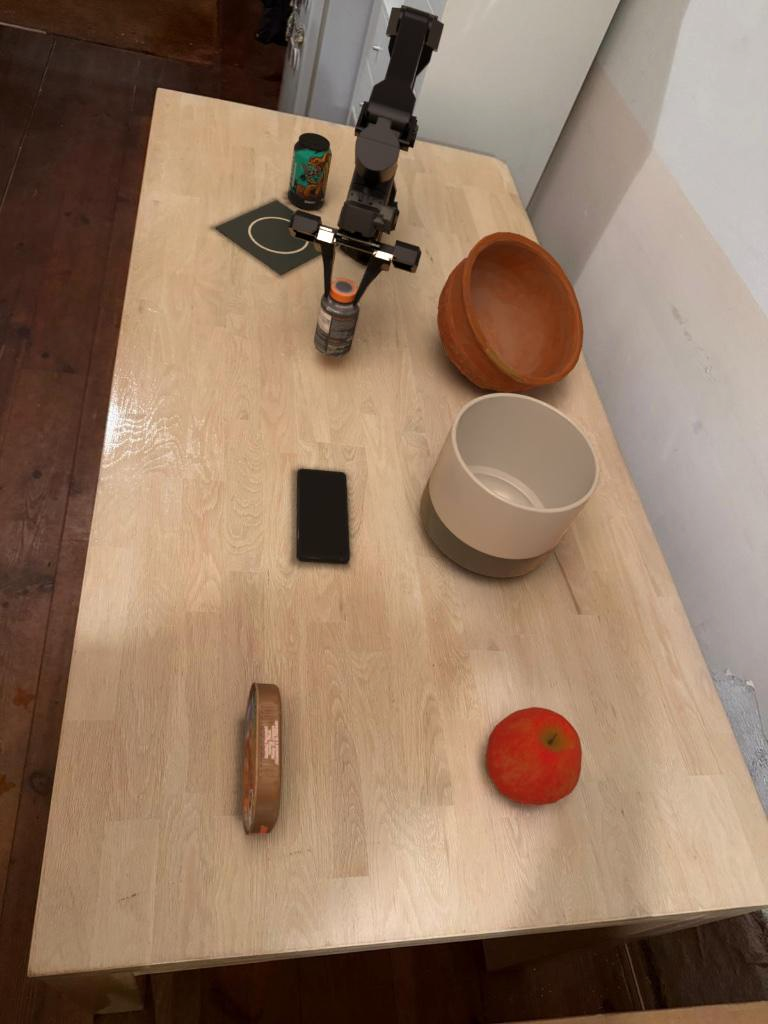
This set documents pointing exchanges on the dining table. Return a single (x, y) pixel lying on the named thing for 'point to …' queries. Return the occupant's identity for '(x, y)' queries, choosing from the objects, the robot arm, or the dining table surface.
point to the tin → (262, 759)
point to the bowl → (510, 316)
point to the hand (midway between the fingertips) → (339, 302)
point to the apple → (534, 756)
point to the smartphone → (322, 516)
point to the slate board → (270, 237)
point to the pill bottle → (337, 319)
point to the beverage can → (309, 171)
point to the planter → (508, 484)
